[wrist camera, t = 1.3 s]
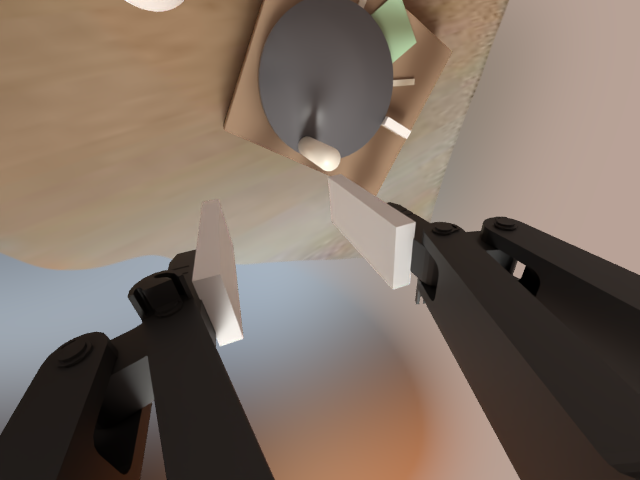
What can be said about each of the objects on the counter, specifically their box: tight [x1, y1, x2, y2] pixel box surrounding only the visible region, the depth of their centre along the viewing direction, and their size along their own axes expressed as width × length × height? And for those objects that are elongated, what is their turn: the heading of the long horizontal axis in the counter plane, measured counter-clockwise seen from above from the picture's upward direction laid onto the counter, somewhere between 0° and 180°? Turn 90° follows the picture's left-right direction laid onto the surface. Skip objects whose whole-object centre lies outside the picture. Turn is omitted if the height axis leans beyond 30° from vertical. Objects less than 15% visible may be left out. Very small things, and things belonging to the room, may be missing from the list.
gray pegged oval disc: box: [258, 0, 411, 171], centre depth 25 cm, size 18×14×8 cm
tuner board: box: [223, 0, 452, 196], centre depth 30 cm, size 20×18×4 cm
